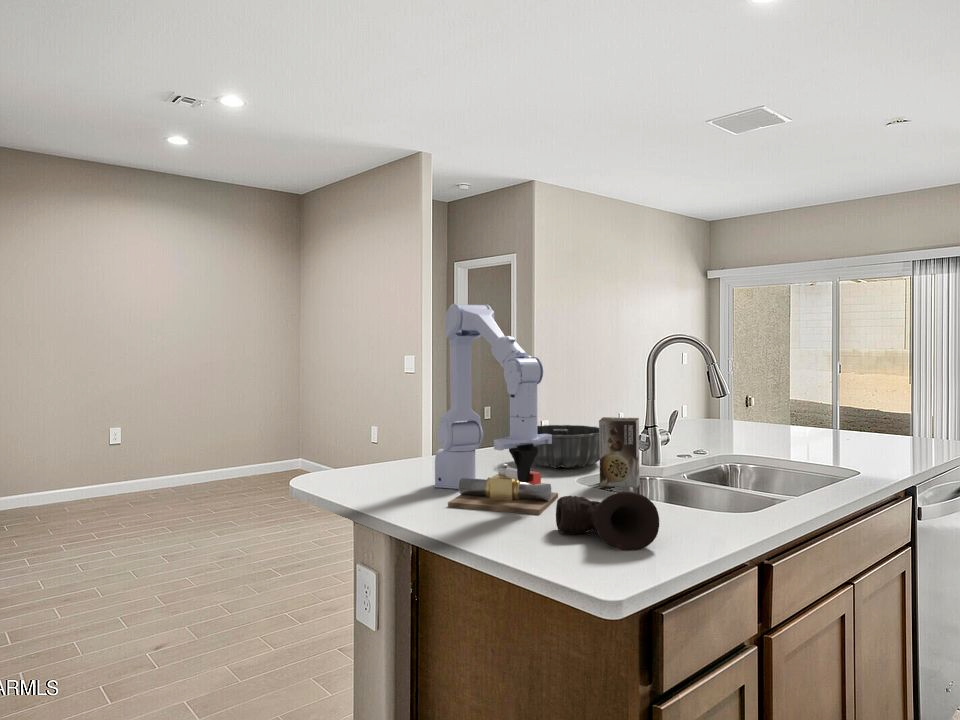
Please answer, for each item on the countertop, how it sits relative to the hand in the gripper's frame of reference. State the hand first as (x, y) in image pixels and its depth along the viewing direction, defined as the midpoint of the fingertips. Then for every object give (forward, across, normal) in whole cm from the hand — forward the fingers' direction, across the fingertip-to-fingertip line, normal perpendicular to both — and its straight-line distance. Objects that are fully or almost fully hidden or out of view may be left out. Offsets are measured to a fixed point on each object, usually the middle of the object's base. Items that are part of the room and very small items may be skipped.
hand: (523, 481), depth 140 cm
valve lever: (0, +2, +3) cm, 4 cm away
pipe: (+6, -2, -24) cm, 25 cm away
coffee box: (+6, +35, +3) cm, 35 cm away
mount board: (+6, +2, +8) cm, 10 cm away
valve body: (+6, +2, +8) cm, 10 cm away
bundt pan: (+6, +44, +32) cm, 55 cm away
